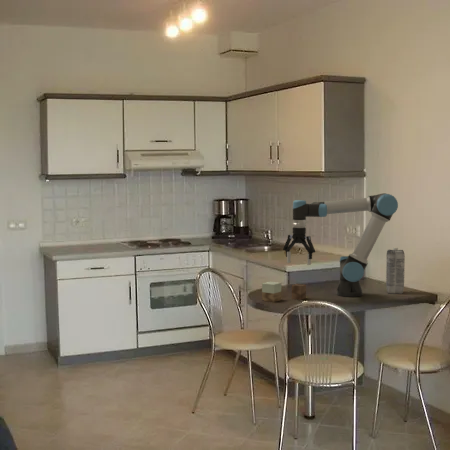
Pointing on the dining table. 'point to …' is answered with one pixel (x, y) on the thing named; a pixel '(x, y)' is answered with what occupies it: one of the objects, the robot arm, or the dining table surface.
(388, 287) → the juice carton
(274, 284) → the tower top
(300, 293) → the block
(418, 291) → the dining table surface
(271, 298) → the tower base
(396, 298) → the dining table surface
